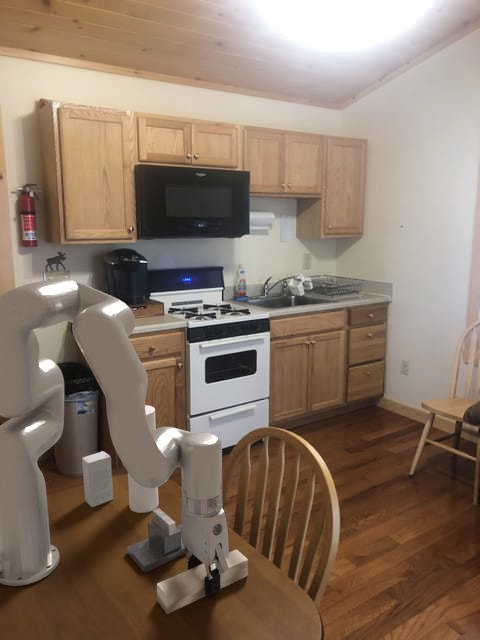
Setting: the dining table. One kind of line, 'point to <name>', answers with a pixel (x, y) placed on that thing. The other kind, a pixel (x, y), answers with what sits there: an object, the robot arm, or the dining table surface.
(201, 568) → the ash bar
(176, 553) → the fulcrum stand
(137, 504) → the cylindrical container
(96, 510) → the dining table surface
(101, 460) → the skincare box
